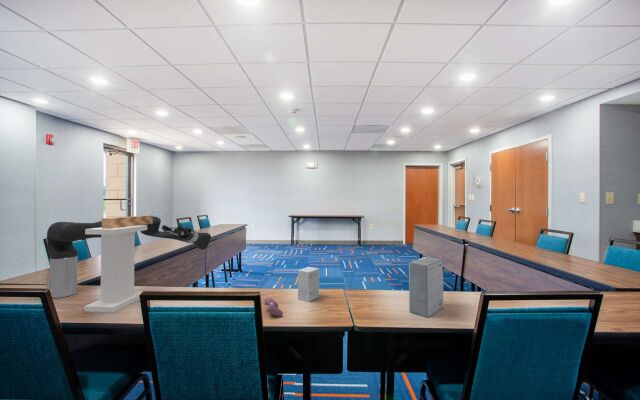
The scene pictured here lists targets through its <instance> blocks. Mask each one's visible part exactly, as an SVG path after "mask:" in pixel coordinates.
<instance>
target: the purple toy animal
mask: <svg viewBox="0 0 640 400" xmlns="http://www.w3.org/2000/svg"><path fill="white" fill-rule="evenodd" d="M263 301H264V303H263V305H264V306H265V307H267V310H268V312H269V314H271V316H273V315H274V316H276V317H282V316H283V315H284V313H283V311H282V310H281V309H280V308H278V307H279V303H277V302H276V301H275V300H274V299H273V298H271V297H266V298H265V299H264V300H263Z"/></svg>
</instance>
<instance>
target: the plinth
mask: <svg viewBox="0 0 640 400" xmlns="http://www.w3.org/2000/svg"><path fill="white" fill-rule="evenodd" d="M143 230H147V225H138V226H130V227H121V228H113V229H102V227H101V228H91V229H85V234H97V235H101V238H100V299H98V300H96V301H93V302H91V303H89V304H87V305H84V307H83V311H84V312H90V313H92V312H93V313H115V312H117V311H119V310H121V309H123V308H125V307H127V306H130V305H132V304H133V303H135V301H136V302H137V301H139V294H140V293H141V292H142V291H139V290H138V291H135V251H136V250H135V248H136V247H135V245H136V242H135V241H136V240H135V239H136V238H135V237H136V235H135V233H136V232H140V231H143ZM131 303H132V304H131Z"/></svg>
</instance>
